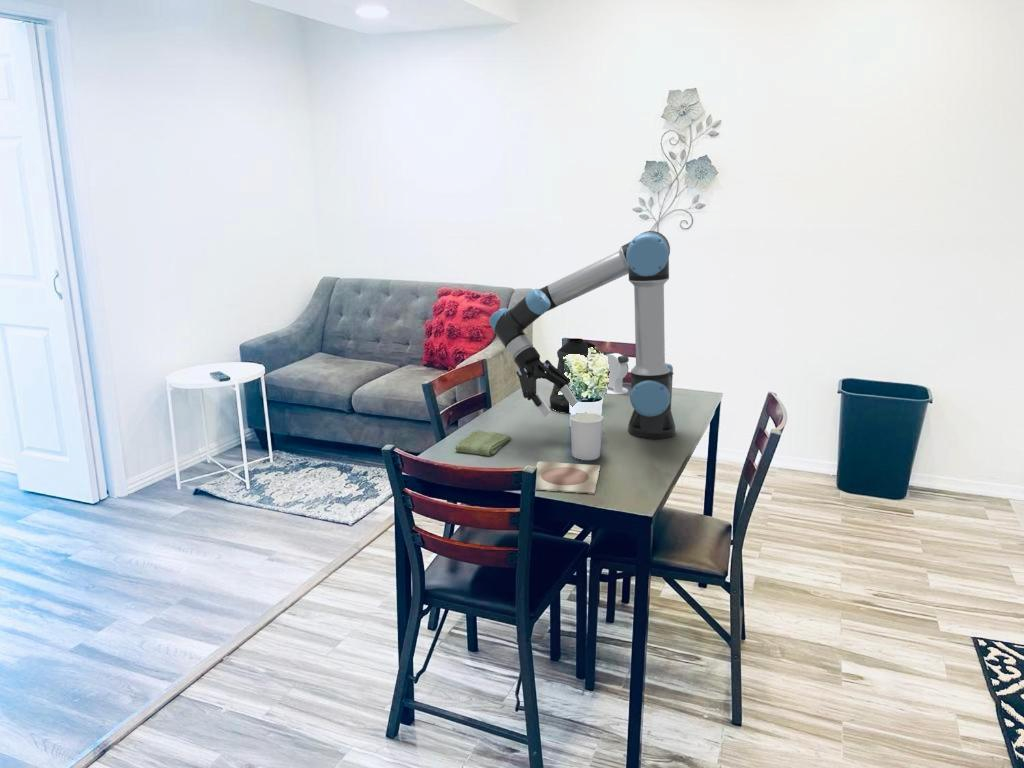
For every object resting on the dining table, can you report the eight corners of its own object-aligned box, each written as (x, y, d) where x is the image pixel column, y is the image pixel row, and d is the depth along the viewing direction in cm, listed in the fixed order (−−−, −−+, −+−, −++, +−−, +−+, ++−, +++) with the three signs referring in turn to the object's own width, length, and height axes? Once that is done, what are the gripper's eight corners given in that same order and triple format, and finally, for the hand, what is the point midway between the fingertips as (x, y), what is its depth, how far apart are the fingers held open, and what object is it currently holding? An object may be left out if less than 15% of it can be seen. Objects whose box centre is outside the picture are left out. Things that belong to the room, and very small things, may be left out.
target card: (600, 467, 216) (600, 465, 216) (594, 494, 197) (594, 492, 197) (538, 463, 219) (538, 461, 219) (526, 489, 200) (526, 487, 200)
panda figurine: (635, 392, 294) (636, 354, 290) (611, 396, 288) (613, 358, 284) (616, 385, 304) (617, 349, 300) (593, 389, 298) (594, 352, 294)
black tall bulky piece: (540, 409, 272) (541, 341, 266) (567, 397, 288) (568, 332, 281) (581, 416, 263) (582, 346, 257) (606, 403, 279) (608, 337, 273)
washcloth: (513, 440, 240) (513, 431, 239) (492, 458, 224) (491, 448, 223) (475, 436, 245) (475, 426, 244) (451, 453, 229) (451, 443, 228)
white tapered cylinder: (606, 452, 228) (607, 414, 225) (596, 463, 219) (597, 423, 216) (575, 448, 232) (576, 410, 229) (564, 458, 223) (565, 419, 220)
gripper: (542, 353, 245) (578, 406, 239) (490, 367, 226) (528, 425, 221) (555, 339, 240) (593, 393, 234) (503, 352, 222) (542, 411, 216)
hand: (561, 409), depth 228 cm, fingers open, 13 cm apart
